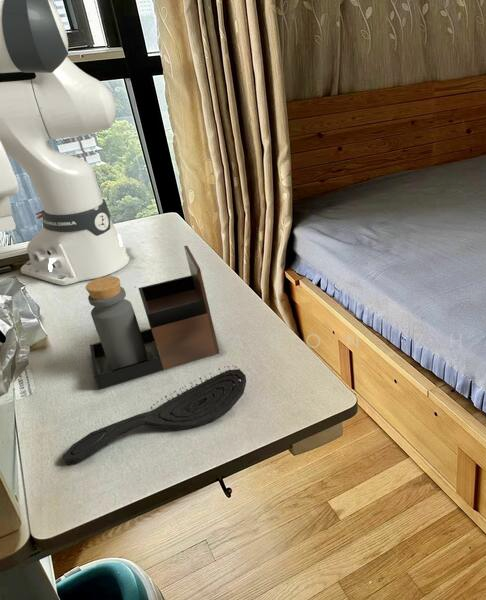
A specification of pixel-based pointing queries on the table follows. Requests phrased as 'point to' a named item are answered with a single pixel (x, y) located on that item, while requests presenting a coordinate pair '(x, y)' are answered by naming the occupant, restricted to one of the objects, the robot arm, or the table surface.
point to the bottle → (115, 323)
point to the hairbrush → (185, 408)
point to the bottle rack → (168, 328)
